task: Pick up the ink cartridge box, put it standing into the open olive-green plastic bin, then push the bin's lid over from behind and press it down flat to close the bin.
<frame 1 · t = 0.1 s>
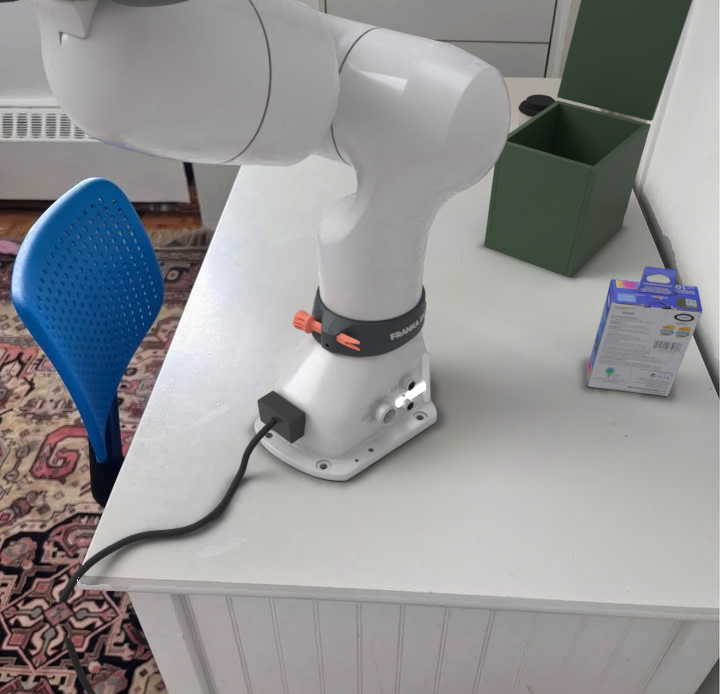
black capped white jar: (530, 159, 130), on the table
ink cartridge box: (626, 379, 89), on the table
bin lid: (624, 35, 98), point 25 cm above the table, hinge at 100.0°
bin: (553, 236, 111), on the table
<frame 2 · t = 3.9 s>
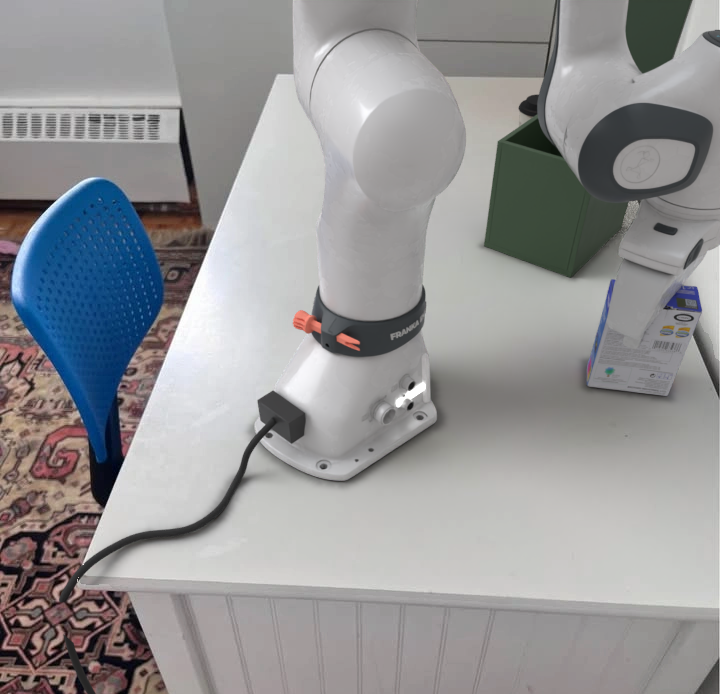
hand: (645, 327, 83), 8 cm above the table, tool pointing down, fingers closed on ink cartridge box, 6 cm apart
ink cartridge box: (626, 379, 89), on the table, touching gripper
everything else where it was.
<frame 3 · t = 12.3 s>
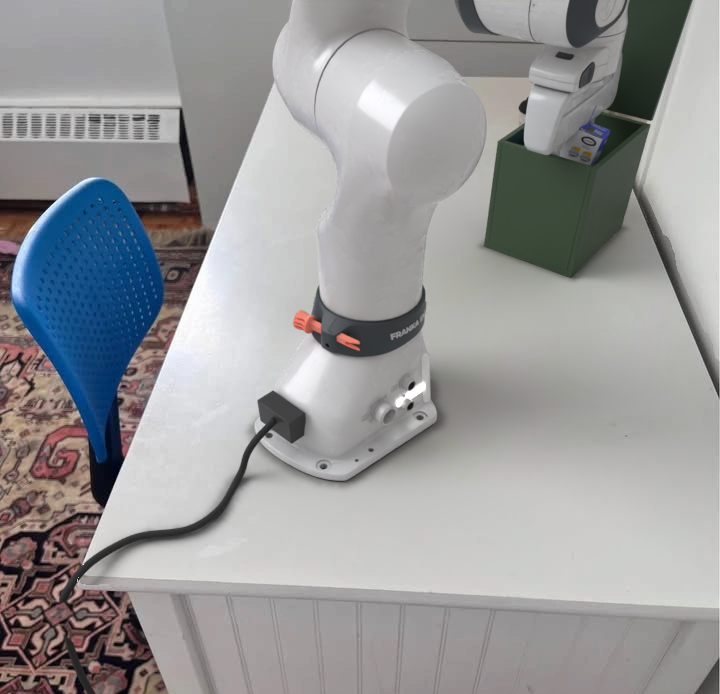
hand: (564, 160, 100), 13 cm above the table, tool pointing down, fingers closed on ink cartridge box, 6 cm apart
ink cartridge box: (538, 207, 105), point 6 cm above the table, touching gripper
everything else where it was.
when the fingers open (13 cm above the table, at t = 12.9 s): ink cartridge box drops 5 cm, resting on bin.
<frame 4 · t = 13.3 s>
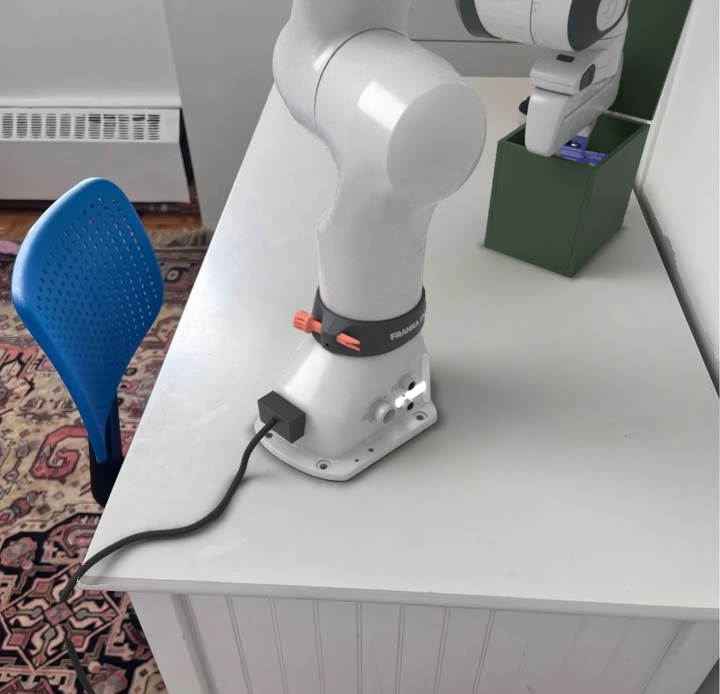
hand: (565, 160, 101), 13 cm above the table, tool pointing down, fingers open, 7 cm apart
ink cartridge box: (556, 232, 110), point 1 cm above the table, touching bin, gripper
everything else where it was.
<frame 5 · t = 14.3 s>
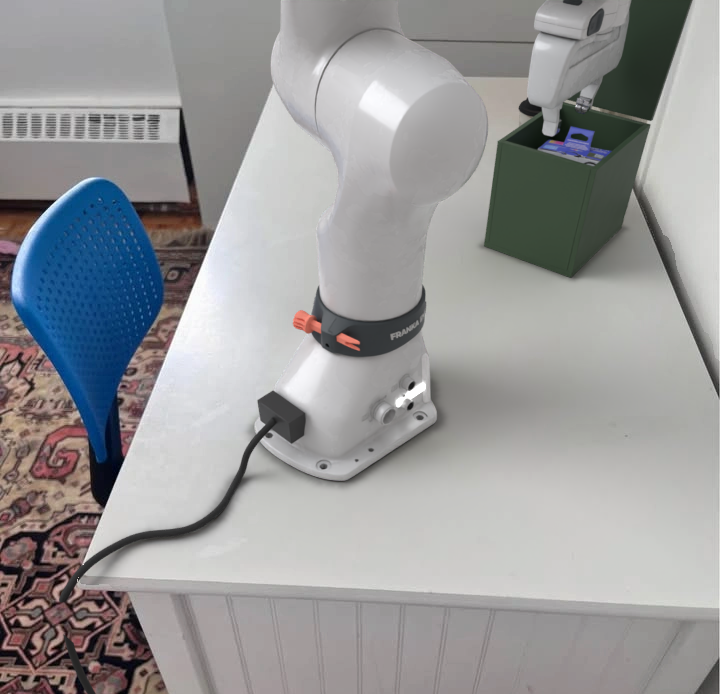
hand: (566, 122, 96), 18 cm above the table, tool pointing down, fingers open, 8 cm apart
ink cartridge box: (556, 232, 111), point 1 cm above the table, touching bin
everything else where it was.
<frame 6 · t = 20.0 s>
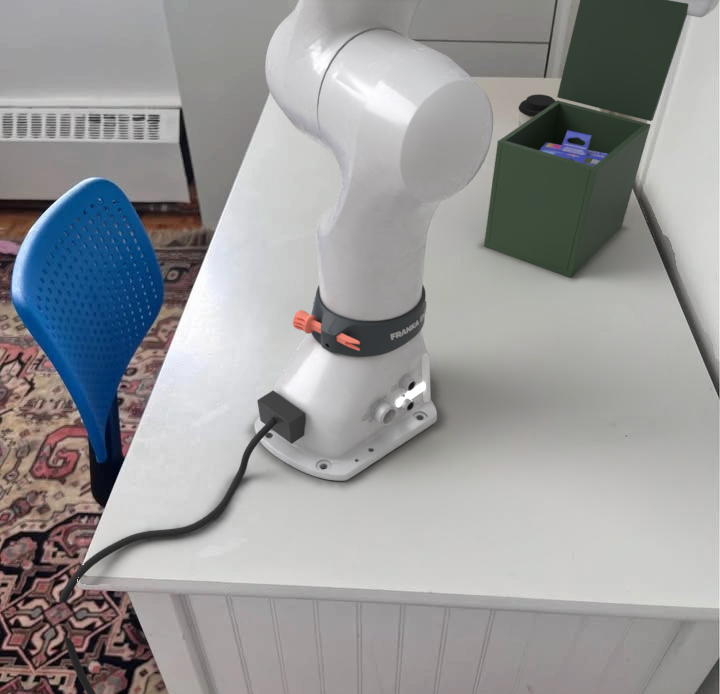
hand: (627, 41, 100), 24 cm above the table, tool pointing down, fingers closed, pressing on bin lid
bin lid: (624, 35, 98), point 25 cm above the table, hinge at 98.5°, touching gripper
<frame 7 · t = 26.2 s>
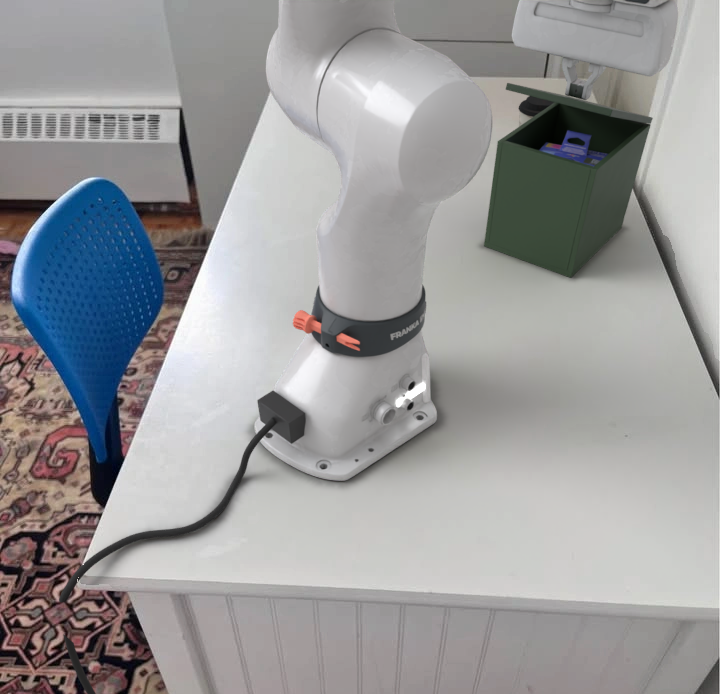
hand: (577, 96, 95), 21 cm above the table, tool pointing down, fingers closed, pressing on bin lid
bin lid: (581, 104, 97), point 19 cm above the table, hinge at 20.4°, touching gripper
everything else where it was.
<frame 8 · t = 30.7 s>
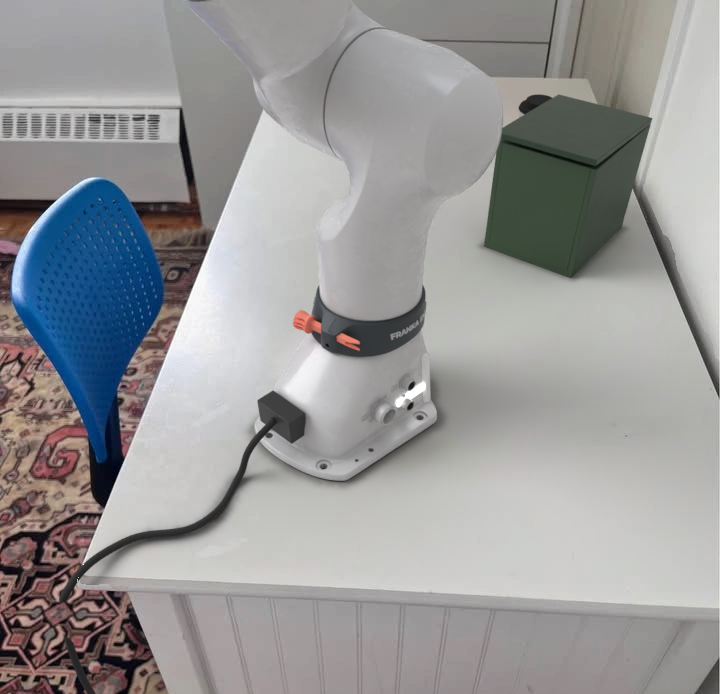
bin lid: (575, 127, 99), point 17 cm above the table, hinge at 2.2°
everything else where it was.
at the end: ink cartridge box inside the target area in the bin (0.4 cm from its centre), point 0.6 cm above the bin's base; bin lid at +2° (first picture: +100°) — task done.
